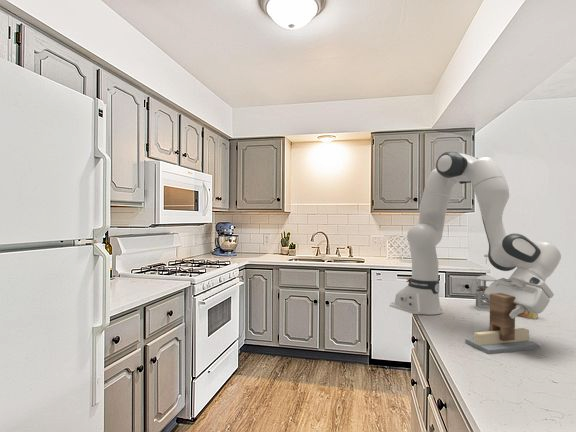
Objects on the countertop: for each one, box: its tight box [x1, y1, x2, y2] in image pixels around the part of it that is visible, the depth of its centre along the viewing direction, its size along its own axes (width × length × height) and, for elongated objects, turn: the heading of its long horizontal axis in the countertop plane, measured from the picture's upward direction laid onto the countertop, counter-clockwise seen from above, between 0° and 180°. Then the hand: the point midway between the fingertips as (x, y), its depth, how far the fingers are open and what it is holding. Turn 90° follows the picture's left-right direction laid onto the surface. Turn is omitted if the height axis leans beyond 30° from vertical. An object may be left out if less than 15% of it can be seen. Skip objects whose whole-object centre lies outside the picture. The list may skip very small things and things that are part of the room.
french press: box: [469, 253, 497, 313], centre depth 163 cm, size 10×12×25 cm
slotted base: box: [464, 327, 541, 355], centre depth 117 cm, size 20×10×5 cm, turn 105°
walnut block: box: [488, 293, 516, 341], centre depth 117 cm, size 4×6×14 cm
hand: (500, 313), depth 117 cm, fingers closed on walnut block, 6 cm apart
